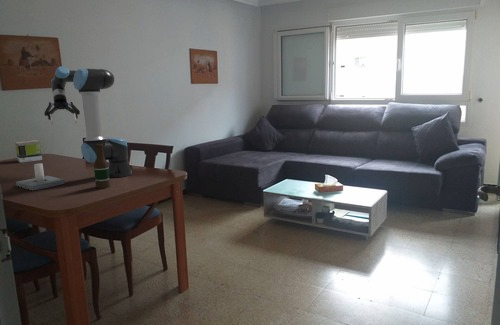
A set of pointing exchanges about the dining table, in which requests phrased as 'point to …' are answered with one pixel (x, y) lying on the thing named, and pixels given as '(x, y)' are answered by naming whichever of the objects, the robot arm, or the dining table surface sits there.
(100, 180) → the beer bottle
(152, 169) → the dining table surface
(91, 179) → the dining table surface
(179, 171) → the dining table surface
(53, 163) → the dining table surface
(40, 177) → the peg
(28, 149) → the tea box
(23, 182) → the socket plate
